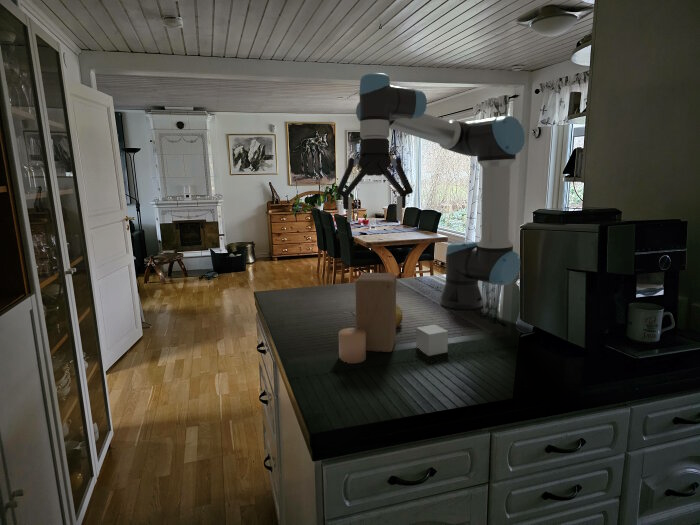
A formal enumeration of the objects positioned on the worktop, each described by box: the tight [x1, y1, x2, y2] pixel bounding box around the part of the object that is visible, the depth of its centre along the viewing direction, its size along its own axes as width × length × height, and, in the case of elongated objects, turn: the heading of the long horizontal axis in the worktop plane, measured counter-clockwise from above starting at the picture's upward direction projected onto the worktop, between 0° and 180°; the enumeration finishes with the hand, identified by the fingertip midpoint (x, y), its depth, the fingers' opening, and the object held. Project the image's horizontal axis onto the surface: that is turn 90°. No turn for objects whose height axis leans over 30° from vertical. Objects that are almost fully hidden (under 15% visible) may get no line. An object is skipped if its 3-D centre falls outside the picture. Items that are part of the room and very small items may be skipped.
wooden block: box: [355, 272, 397, 353], centre depth 119 cm, size 10×10×20 cm
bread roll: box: [396, 304, 403, 328], centre depth 138 cm, size 13×10×8 cm
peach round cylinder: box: [338, 327, 367, 364], centre depth 112 cm, size 7×7×7 cm
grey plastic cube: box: [415, 324, 449, 357], centre depth 117 cm, size 6×6×6 cm
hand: (374, 221), depth 115 cm, fingers open, 13 cm apart
